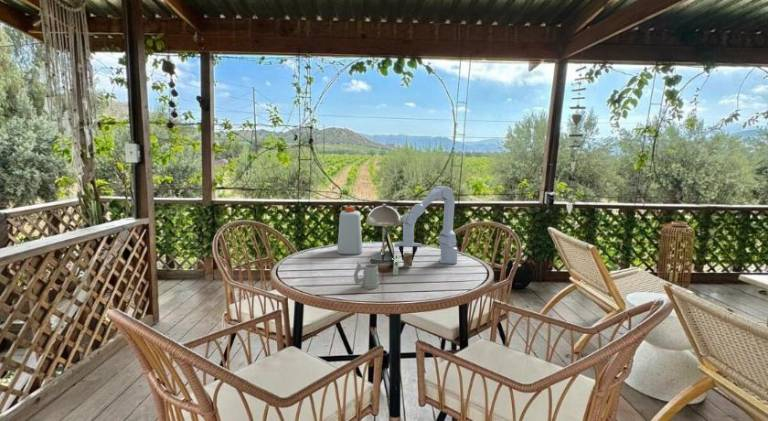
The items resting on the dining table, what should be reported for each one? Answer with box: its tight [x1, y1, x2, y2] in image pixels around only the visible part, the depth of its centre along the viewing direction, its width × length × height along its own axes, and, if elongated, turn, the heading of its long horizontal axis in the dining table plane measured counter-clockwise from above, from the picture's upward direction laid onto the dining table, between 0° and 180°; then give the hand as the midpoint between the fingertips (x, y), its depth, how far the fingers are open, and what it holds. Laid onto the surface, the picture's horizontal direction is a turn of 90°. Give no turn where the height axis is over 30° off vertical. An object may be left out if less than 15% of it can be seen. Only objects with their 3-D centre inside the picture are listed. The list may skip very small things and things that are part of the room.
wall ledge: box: [392, 254, 400, 276], centre depth 205 cm, size 2×26×5 cm, turn 177°
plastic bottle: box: [337, 206, 363, 256], centre depth 232 cm, size 15×15×28 cm
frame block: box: [402, 252, 413, 267], centre depth 204 cm, size 5×8×5 cm, turn 177°
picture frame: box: [379, 227, 395, 259], centre depth 227 cm, size 23×9×15 cm, turn 179°
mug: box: [353, 261, 380, 290], centre depth 175 cm, size 8×12×12 cm, turn 99°
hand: (407, 259), depth 205 cm, fingers closed on frame block, 5 cm apart
